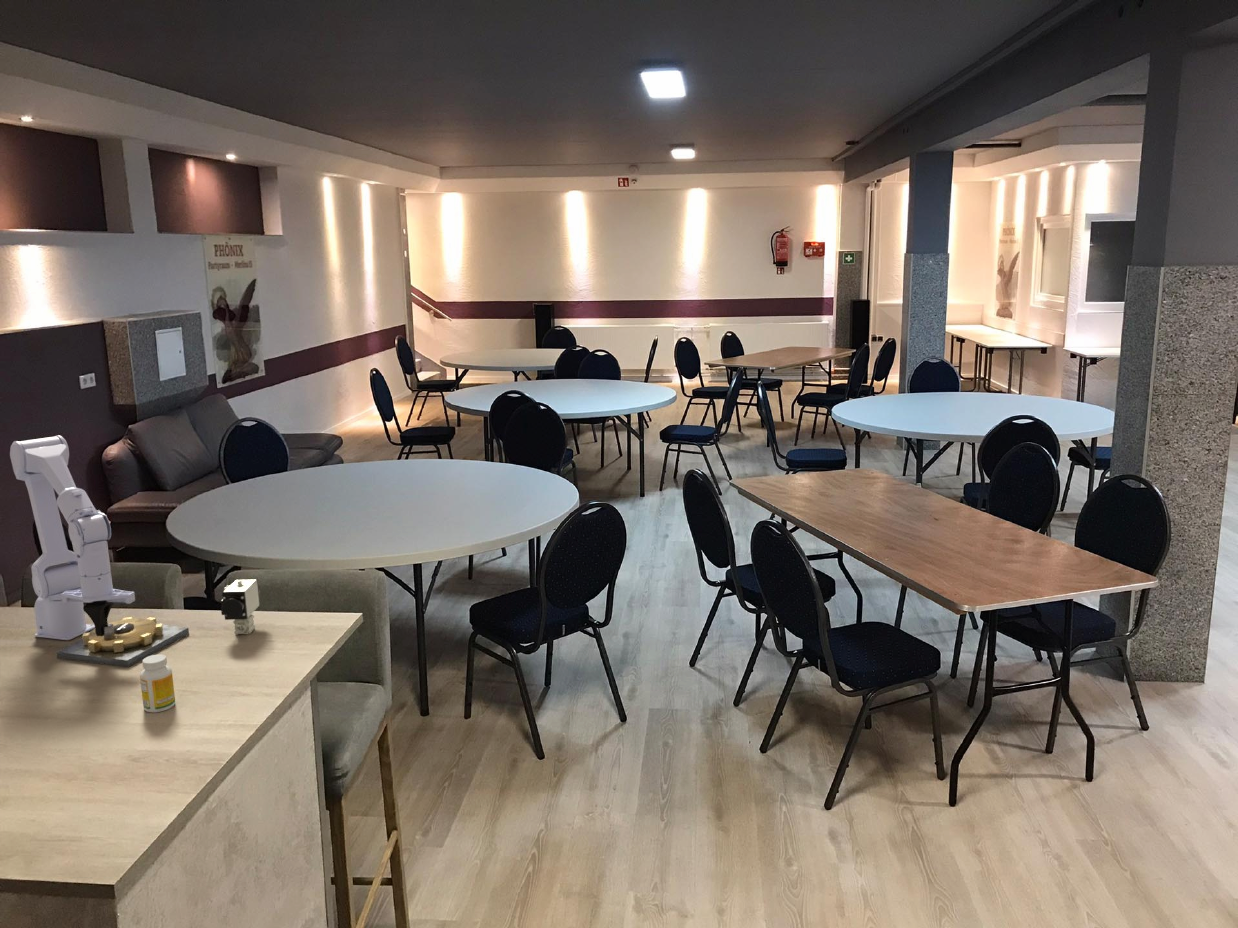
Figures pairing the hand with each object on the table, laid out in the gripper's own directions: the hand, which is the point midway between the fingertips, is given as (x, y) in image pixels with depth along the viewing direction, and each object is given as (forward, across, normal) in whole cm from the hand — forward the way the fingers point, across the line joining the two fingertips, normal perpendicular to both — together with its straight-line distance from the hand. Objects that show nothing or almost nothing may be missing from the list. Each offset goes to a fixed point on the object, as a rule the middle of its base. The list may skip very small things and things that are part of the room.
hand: (103, 634), depth 202 cm
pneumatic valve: (+5, +24, +13) cm, 28 cm away
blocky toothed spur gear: (+3, +1, +5) cm, 6 cm away
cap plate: (+5, +1, +5) cm, 7 cm away
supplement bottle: (+5, +24, -23) cm, 33 cm away
